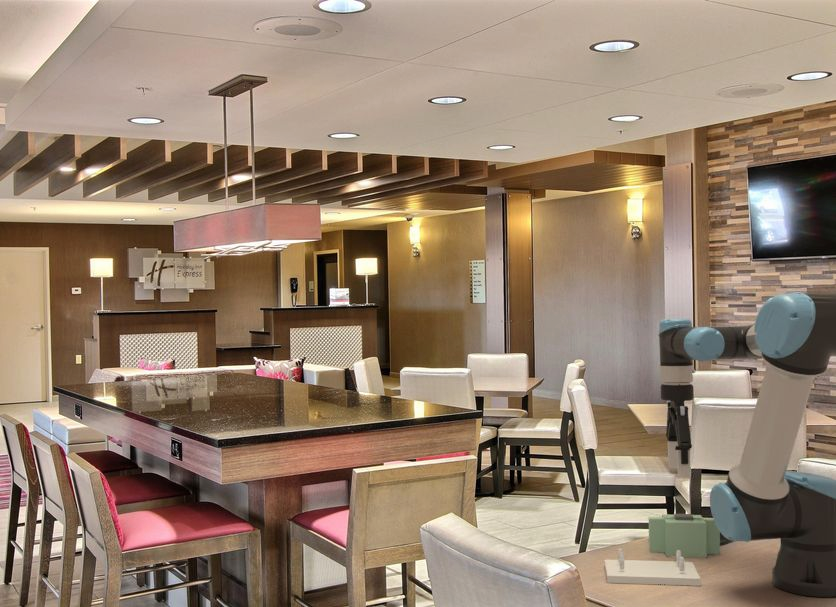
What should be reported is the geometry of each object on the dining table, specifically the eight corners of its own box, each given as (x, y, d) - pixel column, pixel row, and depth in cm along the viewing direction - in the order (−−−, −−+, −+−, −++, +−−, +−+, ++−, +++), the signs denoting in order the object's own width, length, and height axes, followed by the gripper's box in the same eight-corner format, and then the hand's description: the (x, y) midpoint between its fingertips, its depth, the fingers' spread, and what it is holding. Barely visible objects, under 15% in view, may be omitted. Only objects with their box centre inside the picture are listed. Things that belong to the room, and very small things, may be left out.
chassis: (692, 568, 196) (691, 546, 196) (700, 585, 184) (700, 562, 184) (604, 566, 199) (604, 543, 199) (607, 582, 187) (607, 559, 187)
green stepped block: (716, 548, 212) (715, 512, 212) (722, 558, 204) (721, 520, 204) (647, 546, 215) (647, 510, 215) (651, 556, 207) (650, 518, 207)
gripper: (703, 387, 198) (706, 482, 197) (683, 379, 222) (685, 464, 222) (669, 387, 198) (671, 482, 198) (653, 379, 223) (655, 464, 223)
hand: (679, 473), depth 210 cm, fingers open, 13 cm apart
